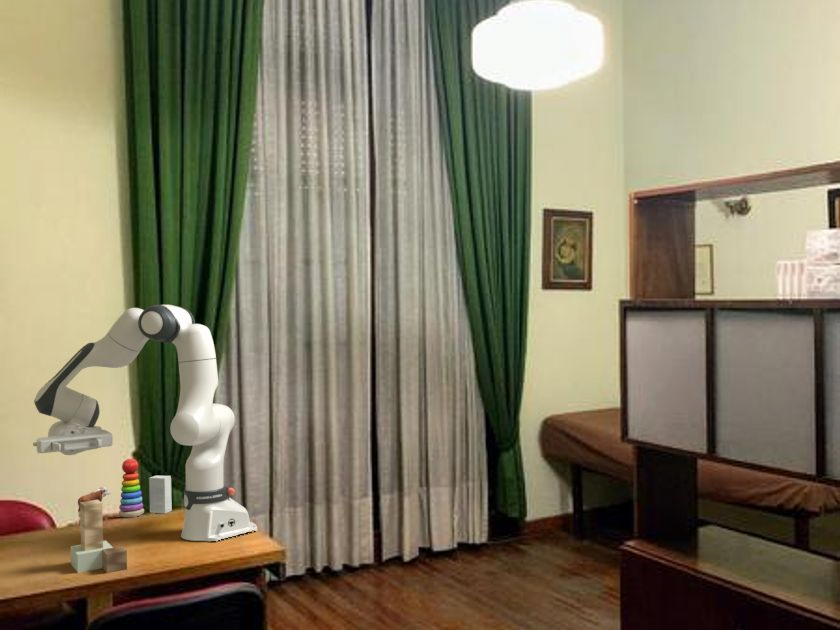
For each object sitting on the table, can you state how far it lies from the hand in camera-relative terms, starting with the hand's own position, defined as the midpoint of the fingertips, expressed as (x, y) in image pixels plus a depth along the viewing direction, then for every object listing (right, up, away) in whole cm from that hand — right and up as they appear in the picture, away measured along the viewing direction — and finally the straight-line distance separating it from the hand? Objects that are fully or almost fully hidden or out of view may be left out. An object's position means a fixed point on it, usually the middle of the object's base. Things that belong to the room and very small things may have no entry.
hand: (80, 445), depth 218 cm
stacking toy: (0, -30, +40) cm, 50 cm away
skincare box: (+8, -30, +43) cm, 53 cm away
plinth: (+8, -30, -11) cm, 33 cm away
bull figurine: (-14, -30, +42) cm, 54 cm away
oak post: (+8, -25, -12) cm, 29 cm away
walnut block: (+16, -30, -15) cm, 37 cm away
